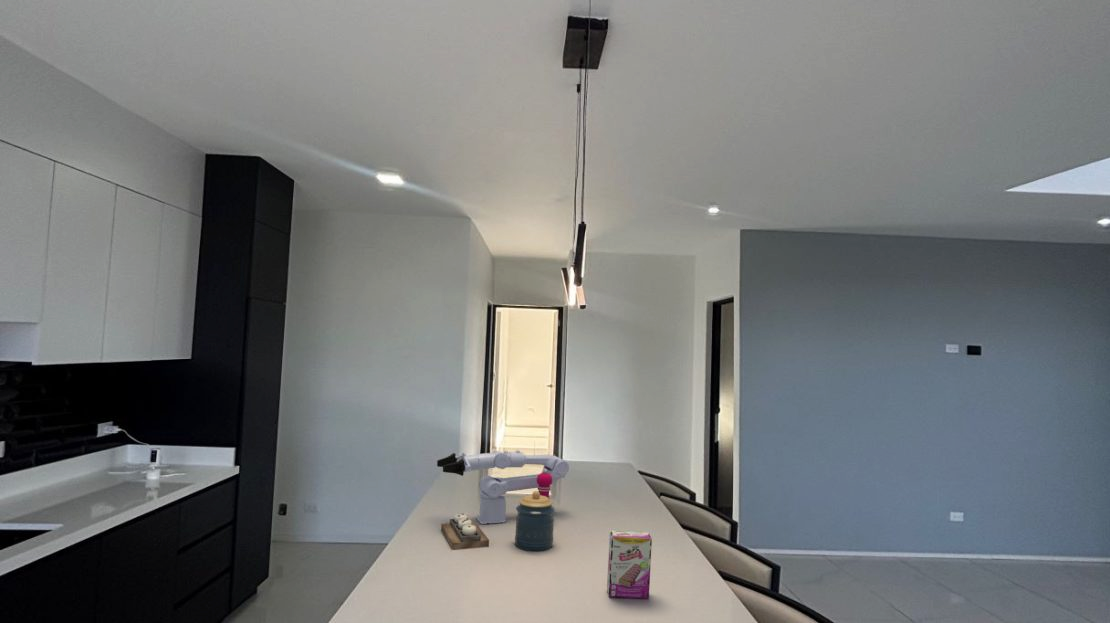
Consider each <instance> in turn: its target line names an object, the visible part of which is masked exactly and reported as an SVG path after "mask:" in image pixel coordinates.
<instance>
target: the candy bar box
mask: <svg viewBox="0 0 1110 623" xmlns="http://www.w3.org/2000/svg"><path fill="white" fill-rule="evenodd" d="M608 540H609V544H608V545H609V546H608V560H607V580H606V581H607V582H606V592H607V591H608V592H607V595H609V596H608V597H609V598H615V597H620V598H621V597H622V599H639V598H640V600H642V599H645V600H646V599H647V600H648V599H649V598H650V584H651V583H650V582H651V564H652V563H651V562H652V547H653V546H652V544H653V542H652V541H653V538H652V537H651V535H650V533H649V532H642V531H641V532H640V531H639V532H638V531H622V530H621V531H620V530H610V531H609V539H608Z"/></svg>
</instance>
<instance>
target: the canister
mask: <svg viewBox="0 0 1110 623" xmlns="http://www.w3.org/2000/svg"><path fill="white" fill-rule="evenodd" d="M518 503H519V505H517V506H516V507H515V509H516V512H517V516H516V517H515V535H514V542H515V543H514V544H515V546H516V547H518V548H520V549H522V550H526V551H532V552H533V551H534V552H538V551H540V552H541V551H545V550H549V549H551V548H552V546H553V543H554V522H555V518H554V513H555V508H554V506H553V504H554V503H553V501H552V500H551V499H550V497H549V498H548V497H546V496H542V495H540V493H539V490H538V491H537V490H534V491H533V492H532V494H529V495H528V494H527V495H525V496H523V497H522V498H520V499H519V500H518ZM551 505H552V506H551Z"/></svg>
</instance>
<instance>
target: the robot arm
mask: <svg viewBox="0 0 1110 623" xmlns="http://www.w3.org/2000/svg"><path fill="white" fill-rule="evenodd" d="M525 465H537V466H538V465H540V466H543V467H542V470H541V473H543V469H547V473H549V474H550V475H551V476H552V484H551V485H554V483H556V482H557V481H559V480H560V479H563V478H565V477H566V475H567V474H568V472H569V470H570V464H569V462H568V461H567V460H565V459H562V458H561V457H558V456H557V455H553V454H552V455H551V454H529V455H525V454H524V453H523V451H520V450H517V449H516V450H515V451H508V450H504V452H502V451H500V450H496V449H495V450H493V451H492V452H484V453H476V454H474V453H473V454H467V455H466V452H465V451H464V452H462V455H457V456H456V453H455V452H453V453H451V454H450V455H448V456H446V457H443V458H440V459H438V460H436V466H437V467H439V468H442V472H443V473H449V474H454V475H455V474H456V475H459V476H462V477H463V476H464V473H468V472H472V471H479V470H480V471H481V470H488V469H489V470H490V469H496V468H497V469H499V470H505V469H507V468H523V467H524V466H525ZM539 474H540V473H537V474H529V475H519V476H511V477H509V476H508V477H499V476H497V477H496V476H495V477H493V476H491V475H484V476H482V478H481V479H480V480H479V483H478V487H479V490H480V491H481V493H480V499H479V502H480V503H479V515H478V516H476V517H475V518H476V519H477V521H478V522H479V523H480V524H481V525H486V524H487V523H489V524H502V523H506V522H507V521H506V512H507V510H506V509H507V501H506V500H507V499H506V497H505V496H504V495H506V494H507V493H508V492H515V491H523V490H532V489H538V483H537V476H538V475H539ZM551 485H550V486H551ZM501 522H502V523H501Z"/></svg>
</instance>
